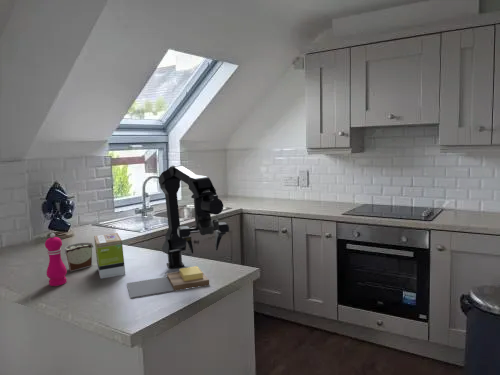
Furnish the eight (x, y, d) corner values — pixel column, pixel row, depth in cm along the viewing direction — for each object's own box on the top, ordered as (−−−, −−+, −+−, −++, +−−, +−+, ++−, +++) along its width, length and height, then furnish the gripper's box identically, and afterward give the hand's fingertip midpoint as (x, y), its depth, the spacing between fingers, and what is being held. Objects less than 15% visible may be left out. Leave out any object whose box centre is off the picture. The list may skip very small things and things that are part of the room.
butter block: (179, 273, 167) (179, 268, 167) (197, 271, 170) (197, 266, 169) (184, 281, 159) (183, 275, 159) (203, 277, 161) (202, 272, 161)
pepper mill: (70, 279, 173) (65, 230, 171) (63, 286, 166) (58, 234, 164) (52, 280, 173) (46, 231, 171) (44, 287, 166) (38, 236, 163)
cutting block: (167, 278, 169) (166, 273, 169) (199, 273, 173) (199, 268, 173) (173, 291, 155) (173, 285, 155) (209, 285, 159) (209, 279, 159)
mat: (127, 284, 164) (126, 283, 164) (166, 278, 169) (166, 276, 169) (130, 298, 149) (130, 297, 149) (174, 291, 154) (174, 290, 154)
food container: (89, 262, 196) (86, 240, 195) (95, 265, 192) (93, 242, 191) (61, 269, 188) (59, 247, 186) (67, 272, 183) (64, 249, 182)
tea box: (97, 269, 186) (93, 235, 184) (121, 265, 190) (118, 232, 188) (99, 279, 172) (96, 242, 170) (125, 274, 176) (122, 239, 174)
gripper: (180, 217, 151) (183, 261, 153) (232, 212, 156) (234, 254, 159) (175, 212, 161) (178, 252, 163) (224, 207, 167) (226, 246, 169)
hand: (204, 251), depth 163 cm, fingers open, 9 cm apart
